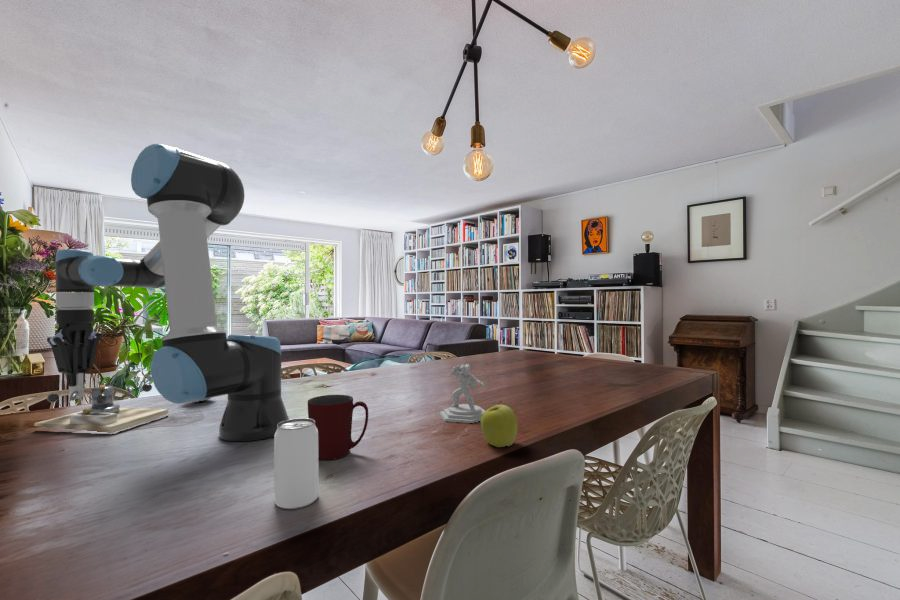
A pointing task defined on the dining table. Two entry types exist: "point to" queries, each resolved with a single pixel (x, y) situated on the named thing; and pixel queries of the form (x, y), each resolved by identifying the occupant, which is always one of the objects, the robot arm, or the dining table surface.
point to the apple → (499, 425)
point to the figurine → (466, 411)
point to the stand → (103, 419)
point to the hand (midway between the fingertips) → (76, 397)
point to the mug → (334, 424)
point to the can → (296, 463)
